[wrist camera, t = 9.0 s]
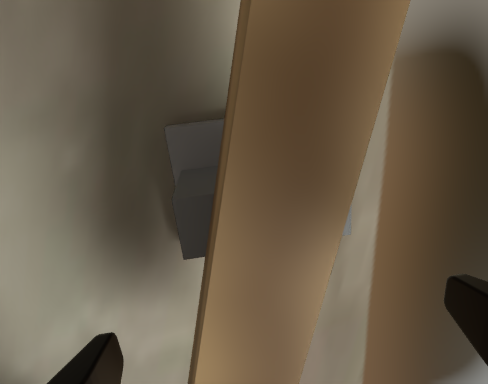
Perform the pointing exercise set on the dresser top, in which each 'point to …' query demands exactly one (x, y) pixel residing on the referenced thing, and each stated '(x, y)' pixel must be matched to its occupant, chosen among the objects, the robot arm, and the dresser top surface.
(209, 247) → the plank
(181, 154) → the grey stepped block
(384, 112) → the dresser top surface
